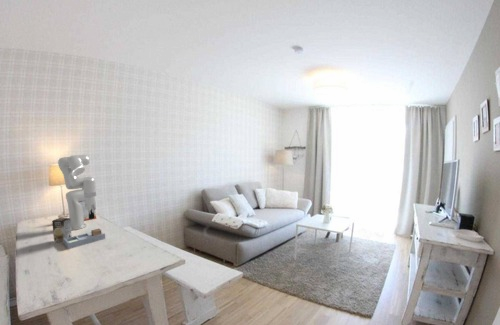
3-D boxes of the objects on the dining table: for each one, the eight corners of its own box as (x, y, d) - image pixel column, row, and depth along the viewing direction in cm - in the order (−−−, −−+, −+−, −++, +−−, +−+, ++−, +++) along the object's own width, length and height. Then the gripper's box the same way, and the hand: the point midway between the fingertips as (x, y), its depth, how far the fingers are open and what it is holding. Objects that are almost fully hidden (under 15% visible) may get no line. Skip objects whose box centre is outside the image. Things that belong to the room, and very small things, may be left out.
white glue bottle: (96, 217, 229) (94, 195, 228) (96, 218, 224) (94, 196, 223) (78, 220, 221) (76, 198, 220) (78, 221, 216) (76, 199, 215)
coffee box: (53, 242, 170) (51, 220, 169) (61, 238, 176) (59, 217, 175) (65, 242, 169) (63, 220, 168) (72, 239, 176) (70, 217, 174)
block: (91, 235, 174) (91, 230, 174) (99, 233, 177) (99, 228, 177) (93, 236, 170) (93, 232, 170) (101, 234, 174) (101, 229, 174)
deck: (63, 243, 168) (62, 237, 168) (98, 233, 184) (98, 228, 184) (68, 249, 158) (67, 243, 157) (105, 238, 174) (105, 233, 174)
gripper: (81, 194, 179) (83, 217, 181) (87, 197, 169) (88, 222, 171) (92, 192, 185) (94, 215, 187) (99, 195, 175) (100, 219, 177)
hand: (91, 218), depth 179 cm, fingers closed
